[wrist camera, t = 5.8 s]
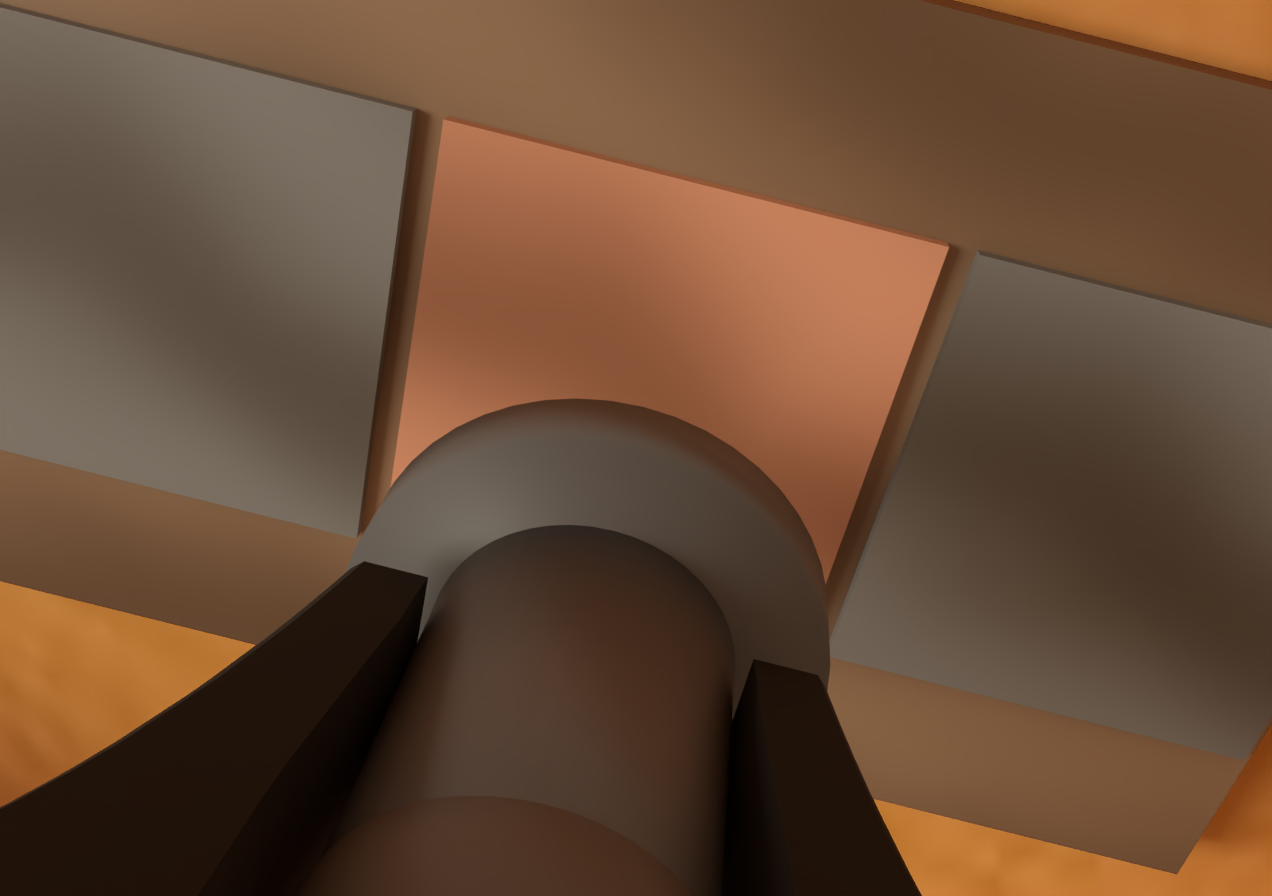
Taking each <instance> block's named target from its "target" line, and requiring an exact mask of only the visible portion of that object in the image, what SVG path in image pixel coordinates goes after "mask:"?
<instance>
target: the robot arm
mask: <svg viewBox="0 0 1272 896" xmlns="http://www.w3.org/2000/svg"><path fill="white" fill-rule="evenodd" d="M427 582H428V577H425V576H421V575H417V574H413V573H409V572H405V571H401V570H397V569H393V568H389V567H385V566H381V565H377V564H373V563H369V562H366V561H364V562H362V563H360V564H358V565H356V566H354V567H352V568H350V569H349V570H348V571H347V572H346V573H345V574H344V575H342V576H341V577H340V578H339V579H338V580H337V581H335V582H334V583H333V584H332V585H331V586H330V587H328V588H327V589H326V590H325V591H324V592H322V593H321V594H320V595H319V596H318V597H316V598H315V599H314V600H313V601H312V602H310V603H309V604H308V605H307V606H306V607H304V608H303V609H302V610H301V611H299V612H298V613H297V614H296V615H294V616H293V617H292V618H291V619H289V620H288V621H287V622H286V623H284V624H283V625H282V626H280V627H279V628H278V629H277V630H275V631H274V632H273V633H272V634H270V635H269V636H268V637H267V638H265V639H264V640H263V641H261V642H260V643H259V644H257V645H256V646H254V647H253V648H252V649H250V650H249V651H248V652H246V653H245V654H244V655H242V656H241V657H240V658H238V659H237V660H236V661H234V662H233V663H231V664H230V665H229V666H227V667H226V668H225V669H223V670H222V671H221V672H219V673H218V674H217V675H215V676H214V677H212V678H211V679H210V680H208V681H207V682H206V683H204V684H203V685H201V686H200V687H198V688H197V689H196V690H194V691H193V692H191V693H190V694H188V695H187V696H185V697H184V698H182V699H181V700H179V701H178V702H176V703H175V704H173V705H172V706H170V707H168V708H167V709H165V710H164V711H162V712H161V713H159V714H158V715H156V716H155V717H153V718H152V719H150V720H149V721H147V722H146V723H144V724H143V725H141V726H140V727H138V728H136V729H135V730H133V731H132V732H130V733H129V734H127V735H126V736H124V737H123V738H121V739H120V740H118V741H116V742H115V743H113V744H112V745H110V746H108V747H107V748H105V749H103V750H102V751H100V752H98V753H97V754H95V755H93V756H92V757H90V758H88V759H87V760H85V761H83V762H82V763H80V764H78V765H76V766H75V767H73V768H71V769H70V770H68V771H66V772H64V773H63V774H61V775H59V776H57V777H56V778H54V779H52V780H50V781H48V782H46V783H45V784H43V785H41V786H39V787H37V788H36V789H34V790H32V791H30V792H28V793H26V794H25V795H23V796H21V797H19V798H17V799H15V800H14V801H12V802H10V803H8V804H6V805H4V806H2V807H0V896H292V894H293V893H294V892H295V890H296V889H297V887H298V886H299V884H300V883H301V882H302V880H303V879H304V878H305V877H306V875H307V874H308V873H309V871H310V870H311V869H312V867H313V866H314V865H315V864H316V862H317V861H318V860H319V859H320V858H321V857H322V855H323V853H324V851H325V848H326V846H327V844H328V842H329V839H330V837H331V835H332V833H333V830H334V828H335V826H336V824H337V821H338V819H339V817H340V815H341V813H342V810H343V808H344V806H345V804H346V801H347V799H348V797H349V795H350V792H351V790H352V788H353V786H354V783H355V781H356V779H357V777H358V774H359V772H360V770H361V768H362V766H363V763H364V761H365V759H366V757H367V754H368V752H369V750H370V748H371V745H372V743H373V741H374V739H375V736H376V734H377V732H378V730H379V727H380V725H381V723H382V721H383V718H384V716H385V714H386V712H387V710H388V707H389V705H390V703H391V701H392V698H393V696H394V694H395V692H396V689H397V687H398V685H399V683H400V680H401V678H402V676H403V674H404V671H405V669H406V667H407V665H408V663H409V660H410V658H411V656H412V654H413V651H414V649H415V647H416V645H417V642H418V636H419V630H420V624H421V618H422V612H423V606H424V600H425V594H426V588H427ZM722 896H922V895H921V893H920V891H919V890H918V888H917V886H916V884H915V882H914V880H913V878H912V876H911V875H910V873H909V871H908V869H907V867H906V865H905V863H904V861H903V859H902V857H901V855H900V853H899V851H898V849H897V847H896V845H895V843H894V841H893V839H892V837H891V835H890V833H889V831H888V829H887V827H886V825H885V823H884V821H883V819H882V817H881V815H880V812H879V810H878V808H877V806H876V804H875V802H874V800H873V798H872V795H871V793H870V791H869V789H868V787H867V784H866V782H865V780H864V778H863V775H862V773H861V771H860V769H859V767H858V764H857V762H856V760H855V758H854V755H853V753H852V751H851V748H850V746H849V744H848V741H847V739H846V737H845V734H844V732H843V729H842V727H841V725H840V722H839V720H838V717H837V715H836V712H835V710H834V707H833V705H832V702H831V700H830V697H829V695H828V692H827V690H826V688H825V686H824V684H823V682H822V681H821V679H820V677H819V676H818V675H816V674H812V673H808V672H804V671H800V670H796V669H792V668H788V667H784V666H780V665H776V664H772V663H768V662H764V661H760V660H756V659H753V662H752V665H751V668H750V671H749V674H748V677H747V680H746V682H745V685H744V688H743V691H742V694H741V697H740V700H739V703H738V706H737V709H736V712H735V714H734V717H733V720H732V728H731V745H730V763H729V780H728V797H727V814H726V831H725V849H724V866H723V883H722Z"/></svg>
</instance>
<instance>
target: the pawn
mask: <svg viewBox="0 0 1272 896" xmlns="http://www.w3.org/2000/svg"><path fill="white" fill-rule="evenodd" d="M364 561H366V562H369V563H373V564H377V565H381V566H385V567H389V568H393V569H397V570H401V571H405V572H409V573H413V574H417V575H421V576H425V577H428V582H427V588H426V594H425V600H424V606H423V612H422V618H421V624H420V630H419V636H418V642H417V645H416V647H415V649H414V651H413V654H412V656H411V658H410V660H409V663H408V665H407V667H406V669H405V671H404V674H403V676H402V678H401V680H400V683H399V685H398V687H397V689H396V692H395V694H394V696H393V698H392V701H391V703H390V705H389V707H388V710H387V712H386V714H385V716H384V718H383V721H382V723H381V725H380V727H379V730H378V732H377V734H376V736H375V739H374V741H373V743H372V745H371V748H370V750H369V752H368V754H367V757H366V759H365V761H364V763H363V766H362V768H361V770H360V772H359V774H358V777H357V779H356V781H355V783H354V786H353V788H352V790H351V792H350V795H349V797H348V799H347V801H346V804H345V806H344V808H343V810H342V813H341V815H340V817H339V819H338V821H337V824H336V826H335V828H334V830H333V833H332V835H331V837H330V839H329V842H328V844H327V846H326V848H325V851H324V853H323V855H322V857H321V858H320V859H319V860H318V861H317V862H316V864H315V865H314V866H313V867H312V869H311V870H310V871H309V873H308V874H307V875H306V877H305V878H304V879H303V880H302V882H301V883H300V884H299V886H298V887H297V889H296V890H295V892H294V893H293V894H292V896H722V883H723V866H724V849H725V831H726V814H727V797H728V780H729V763H730V745H731V728H732V720H733V717H734V714H735V712H736V709H737V706H738V703H739V700H740V697H741V694H742V691H743V688H744V685H745V682H746V680H747V677H748V674H749V671H750V668H751V665H752V662H753V659H756V660H760V661H764V662H768V663H772V664H776V665H780V666H784V667H788V668H792V669H796V670H800V671H804V672H808V673H812V674H816V675H818V676H819V677H820V679H821V681H822V682H823V684H824V686H825V688H826V690H828V682H829V674H830V641H829V623H828V605H827V589H826V585H825V580H824V575H823V570H822V565H821V562H820V559H819V556H818V554H817V551H816V548H815V545H814V543H813V540H812V538H811V536H810V534H809V532H808V530H807V528H806V527H805V525H804V523H803V521H802V519H801V517H800V516H799V514H798V512H797V511H796V510H795V508H794V507H793V506H792V504H791V503H790V502H789V500H788V499H787V498H786V496H785V495H784V494H783V492H782V491H781V489H780V488H779V487H778V486H777V485H776V484H775V483H774V482H773V481H772V480H771V479H770V478H769V477H768V476H767V475H766V474H765V473H764V472H763V471H762V470H761V469H760V468H759V467H758V466H757V465H755V464H754V463H753V462H751V461H750V460H749V459H748V458H746V457H745V456H744V455H743V454H741V453H740V452H739V451H738V450H736V449H735V448H734V447H732V446H730V445H729V444H727V443H725V442H724V441H722V440H721V439H719V438H717V437H716V436H714V435H712V434H711V433H709V432H707V431H706V430H703V429H701V428H699V427H697V426H694V425H692V424H690V423H688V422H686V421H683V420H681V419H679V418H677V417H674V416H671V415H668V414H664V413H661V412H658V411H655V410H652V409H649V408H645V407H641V406H636V405H631V404H626V403H620V402H615V401H608V400H594V399H580V398H574V399H555V400H542V401H536V402H530V403H525V404H519V405H513V406H510V407H507V408H504V409H500V410H497V411H494V412H491V413H488V414H484V415H482V416H480V417H478V418H476V419H473V420H471V421H469V422H467V423H465V424H463V425H460V426H458V427H456V428H455V429H453V430H452V431H450V432H449V433H447V434H445V435H444V436H442V437H441V438H439V439H438V440H436V441H435V442H433V443H432V444H431V445H429V446H428V447H427V448H426V449H425V450H424V451H423V452H421V453H420V454H419V455H418V456H417V457H416V458H415V459H414V460H412V461H411V462H410V464H409V465H408V466H407V467H406V468H405V470H404V471H403V472H402V473H401V474H400V476H399V477H398V478H397V479H396V480H395V482H394V483H393V485H392V486H391V488H390V490H389V491H388V493H387V495H386V496H385V498H384V500H383V501H382V503H381V505H380V506H379V508H378V510H377V512H376V513H375V515H374V517H373V518H372V520H371V522H370V523H369V525H368V527H367V528H366V530H365V532H364V534H363V535H362V537H361V539H360V540H359V542H358V544H357V545H356V547H355V550H354V552H353V555H352V557H351V560H350V562H349V565H348V567H347V570H346V572H347V571H348V570H349V569H350V568H352V567H354V566H356V565H358V564H360V563H362V562H364Z"/></svg>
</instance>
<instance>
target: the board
mask: <svg viewBox="0 0 1272 896" xmlns="http://www.w3.org/2000/svg"><path fill="white" fill-rule="evenodd" d="M574 398H580V399H594V400H608V401H615V402H620V403H626V404H631V405H636V406H641V407H645V408H649V409H652V410H655V411H658V412H661V413H664V414H668V415H671V416H674V417H677V418H679V419H681V420H683V421H686V422H688V423H690V424H692V425H694V426H697V427H699V428H701V429H703V430H706V431H707V432H709V433H711V434H712V435H714V436H716V437H717V438H719V439H721V440H722V441H724V442H725V443H727V444H729V445H730V446H732V447H734V448H735V449H736V450H738V451H739V452H740V453H741V454H743V455H744V456H745V457H746V458H748V459H749V460H750V461H751V462H753V463H754V464H755V465H757V466H758V467H759V468H760V469H761V470H762V471H763V472H764V473H765V474H766V475H767V476H768V477H769V478H770V479H771V480H772V481H773V482H774V483H775V484H776V485H777V486H778V487H779V488H780V489H781V491H782V492H783V494H784V495H785V496H786V498H787V499H788V500H789V502H790V503H791V504H792V506H793V507H794V508H795V510H796V511H797V512H798V514H799V516H800V517H801V519H802V521H803V523H804V525H805V527H806V528H807V530H808V532H809V534H810V536H811V538H812V540H813V543H814V545H815V548H816V551H817V554H818V556H819V559H820V562H821V565H822V570H823V575H824V580H825V585H826V589H827V605H828V623H829V641H830V674H829V682H828V690H827V692H828V695H829V697H830V700H831V702H832V705H833V707H834V710H835V712H836V715H837V717H838V720H839V722H840V725H841V727H842V729H843V732H844V734H845V737H846V739H847V741H848V744H849V746H850V748H851V751H852V753H853V755H854V758H855V760H856V762H857V764H858V767H859V769H860V771H861V773H862V775H863V778H864V780H865V782H866V784H867V787H868V789H869V791H870V793H871V795H872V798H873V799H877V800H881V801H885V802H889V803H893V804H897V805H901V806H905V807H909V808H913V809H917V810H921V811H925V812H929V813H933V814H937V815H941V816H945V817H949V818H953V819H957V820H961V821H965V822H969V823H973V824H977V825H981V826H985V827H989V828H993V829H997V830H1001V831H1005V832H1009V833H1013V834H1017V835H1021V836H1025V837H1029V838H1034V839H1038V840H1042V841H1046V842H1050V843H1054V844H1058V845H1062V846H1066V847H1070V848H1074V849H1078V850H1082V851H1086V852H1090V853H1094V854H1098V855H1102V856H1106V857H1110V858H1114V859H1118V860H1122V861H1126V862H1130V863H1134V864H1138V865H1142V866H1146V867H1150V868H1154V869H1158V870H1162V871H1166V872H1170V873H1174V874H1177V873H1178V872H1179V870H1180V868H1181V867H1182V865H1183V864H1184V862H1185V861H1186V859H1187V857H1188V856H1189V854H1190V853H1191V851H1192V849H1193V848H1194V846H1195V845H1196V843H1197V842H1198V840H1199V838H1200V837H1201V835H1202V834H1203V832H1204V830H1205V829H1206V827H1207V826H1208V824H1209V822H1210V821H1211V819H1212V818H1213V816H1214V815H1215V813H1216V811H1217V810H1218V808H1219V807H1220V805H1221V803H1222V802H1223V800H1224V799H1225V797H1226V796H1227V794H1228V792H1229V791H1230V789H1231V788H1232V786H1233V784H1234V783H1235V781H1236V780H1237V778H1238V777H1239V775H1240V773H1241V772H1242V770H1243V769H1244V767H1245V765H1246V764H1247V762H1248V761H1249V759H1250V758H1251V756H1252V754H1253V753H1254V751H1255V750H1256V748H1257V746H1258V745H1259V743H1260V742H1261V740H1262V739H1263V737H1264V735H1265V734H1266V732H1267V731H1268V729H1269V727H1270V726H1271V724H1272V81H1268V80H1264V79H1260V78H1256V77H1252V76H1248V75H1244V74H1240V73H1236V72H1232V71H1228V70H1225V69H1221V68H1217V67H1213V66H1209V65H1205V64H1201V63H1197V62H1193V61H1189V60H1185V59H1181V58H1177V57H1173V56H1169V55H1166V54H1162V53H1158V52H1154V51H1150V50H1146V49H1142V48H1138V47H1134V46H1130V45H1126V44H1122V43H1118V42H1114V41H1110V40H1107V39H1103V38H1099V37H1095V36H1091V35H1087V34H1083V33H1079V32H1075V31H1071V30H1067V29H1063V28H1059V27H1055V26H1051V25H1048V24H1044V23H1040V22H1036V21H1032V20H1028V19H1024V18H1020V17H1016V16H1012V15H1008V14H1004V13H1000V12H996V11H992V10H989V9H985V8H981V7H977V6H973V5H969V4H965V3H961V2H957V1H953V0H0V581H2V582H6V583H10V584H14V585H18V586H22V587H26V588H30V589H34V590H38V591H42V592H46V593H50V594H54V595H58V596H62V597H66V598H70V599H74V600H78V601H82V602H86V603H90V604H94V605H98V606H102V607H106V608H110V609H114V610H118V611H122V612H126V613H130V614H134V615H138V616H143V617H147V618H151V619H155V620H159V621H163V622H167V623H171V624H175V625H179V626H183V627H187V628H191V629H195V630H199V631H203V632H207V633H211V634H215V635H219V636H223V637H227V638H231V639H235V640H239V641H243V642H247V643H251V644H255V645H257V644H259V643H260V642H261V641H263V640H264V639H265V638H267V637H268V636H269V635H270V634H272V633H273V632H274V631H275V630H277V629H278V628H279V627H280V626H282V625H283V624H284V623H286V622H287V621H288V620H289V619H291V618H292V617H293V616H294V615H296V614H297V613H298V612H299V611H301V610H302V609H303V608H304V607H306V606H307V605H308V604H309V603H310V602H312V601H313V600H314V599H315V598H316V597H318V596H319V595H320V594H321V593H322V592H324V591H325V590H326V589H327V588H328V587H330V586H331V585H332V584H333V583H334V582H335V581H337V580H338V579H339V578H340V577H341V576H342V575H344V574H345V573H346V570H347V567H348V565H349V562H350V560H351V557H352V555H353V552H354V550H355V547H356V545H357V544H358V542H359V540H360V539H361V537H362V535H363V534H364V532H365V530H366V528H367V527H368V525H369V523H370V522H371V520H372V518H373V517H374V515H375V513H376V512H377V510H378V508H379V506H380V505H381V503H382V501H383V500H384V498H385V496H386V495H387V493H388V491H389V490H390V488H391V486H392V485H393V483H394V482H395V480H396V479H397V478H398V477H399V476H400V474H401V473H402V472H403V471H404V470H405V468H406V467H407V466H408V465H409V464H410V462H411V461H412V460H414V459H415V458H416V457H417V456H418V455H419V454H420V453H421V452H423V451H424V450H425V449H426V448H427V447H428V446H429V445H431V444H432V443H433V442H435V441H436V440H438V439H439V438H441V437H442V436H444V435H445V434H447V433H449V432H450V431H452V430H453V429H455V428H456V427H458V426H460V425H463V424H465V423H467V422H469V421H471V420H473V419H476V418H478V417H480V416H482V415H484V414H488V413H491V412H494V411H497V410H500V409H504V408H507V407H510V406H513V405H519V404H525V403H530V402H536V401H542V400H555V399H574Z"/></svg>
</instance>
